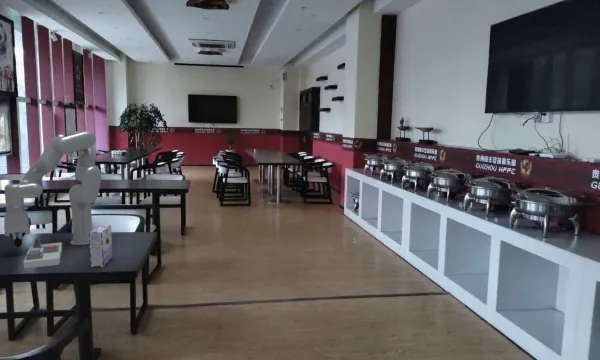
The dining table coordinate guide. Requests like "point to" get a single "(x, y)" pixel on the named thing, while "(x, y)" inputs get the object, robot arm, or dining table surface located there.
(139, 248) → the dining table surface
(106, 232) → the candy box
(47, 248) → the terracotta button
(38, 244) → the dark slider
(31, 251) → the grey button
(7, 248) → the dining table surface
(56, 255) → the panel
